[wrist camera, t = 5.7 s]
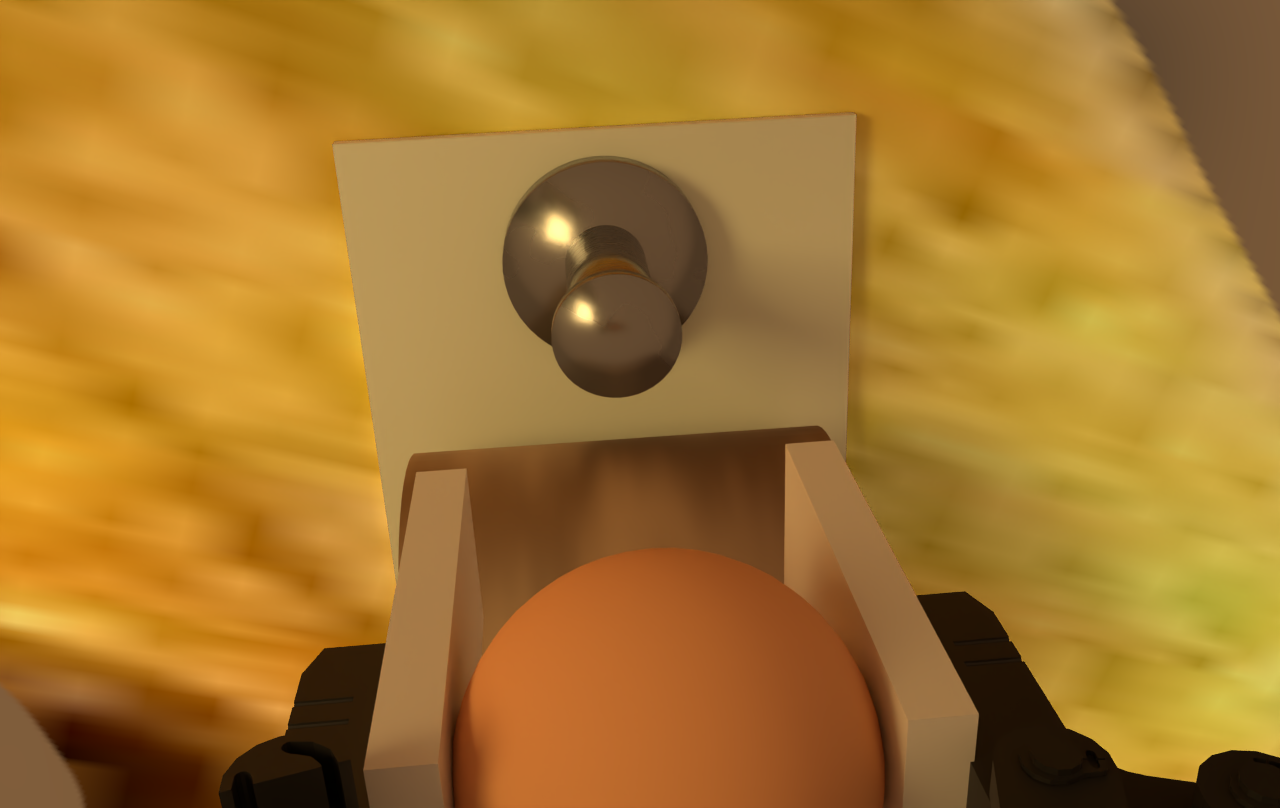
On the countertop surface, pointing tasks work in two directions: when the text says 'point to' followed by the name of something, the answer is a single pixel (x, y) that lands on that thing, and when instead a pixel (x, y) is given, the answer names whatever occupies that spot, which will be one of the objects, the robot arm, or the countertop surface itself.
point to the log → (616, 505)
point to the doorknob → (606, 270)
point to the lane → (526, 366)
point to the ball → (667, 696)
